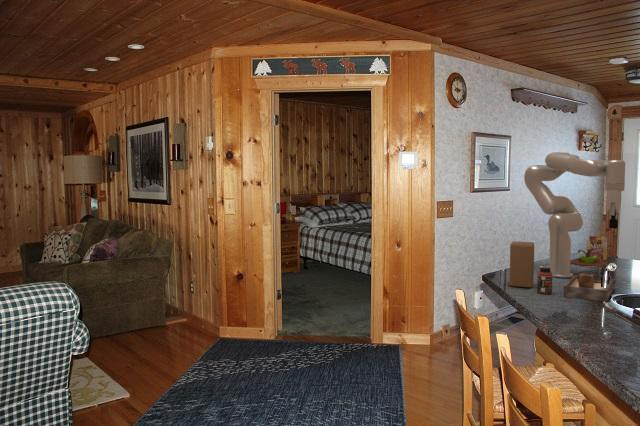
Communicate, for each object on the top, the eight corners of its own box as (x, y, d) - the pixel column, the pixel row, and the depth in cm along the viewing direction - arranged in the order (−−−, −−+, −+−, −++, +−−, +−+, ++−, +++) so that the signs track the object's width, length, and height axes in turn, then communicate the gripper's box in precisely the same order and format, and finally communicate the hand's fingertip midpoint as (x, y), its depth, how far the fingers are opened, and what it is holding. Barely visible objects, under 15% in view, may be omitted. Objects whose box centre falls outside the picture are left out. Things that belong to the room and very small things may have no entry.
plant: (565, 267, 280) (565, 247, 280) (570, 262, 296) (571, 243, 296) (605, 270, 269) (606, 250, 268) (609, 265, 285) (610, 246, 284)
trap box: (563, 296, 209) (563, 286, 209) (573, 284, 232) (574, 275, 232) (607, 301, 200) (607, 290, 200) (613, 288, 223) (613, 279, 223)
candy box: (588, 261, 298) (588, 235, 297) (592, 260, 300) (593, 235, 299) (602, 263, 290) (603, 237, 289) (607, 262, 292) (608, 236, 291)
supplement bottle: (545, 295, 212) (546, 268, 212) (533, 292, 218) (534, 266, 217) (555, 293, 215) (555, 267, 214) (543, 290, 220) (543, 265, 220)
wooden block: (533, 284, 235) (534, 242, 233) (532, 288, 226) (533, 244, 224) (510, 282, 239) (511, 241, 238) (509, 286, 230) (510, 243, 228)
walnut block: (578, 289, 210) (578, 275, 209) (580, 287, 214) (580, 273, 213) (591, 290, 207) (592, 276, 206) (593, 288, 211) (594, 274, 210)
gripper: (606, 187, 231) (605, 226, 233) (603, 187, 219) (602, 229, 220) (625, 187, 227) (624, 227, 228) (623, 187, 215) (621, 230, 216)
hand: (613, 228), depth 224 cm, fingers closed
